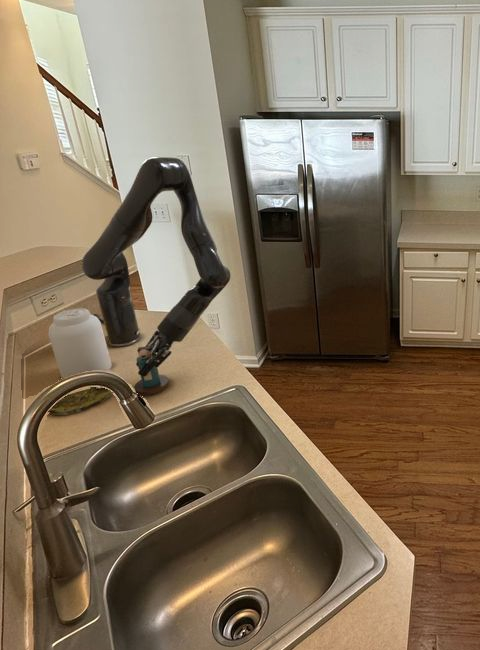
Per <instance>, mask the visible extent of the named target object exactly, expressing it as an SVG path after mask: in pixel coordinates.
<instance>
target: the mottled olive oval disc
mask: <svg viewBox="0 0 480 650" xmlns="http://www.w3.org/2000/svg"><path fill="white" fill-rule="evenodd" d="M113 394H114V391H113V392H111V391H110V390H108V389H105V388H102V386H100V387H91V386H90V387H89V388H85V389H82V390H78V391H76V392H71V393H68V395H67V394H66V395H67V396H65V397H64V398H62V397H61V398H62V399H61V398H60V399H61V400H59V399H58V400H59V401H58V402H57V403H56V404H55V405H54V406H53V407H52V408H51V409H50V410H49V411H48V412H47V413H51V414H53V415H55V416H66V415H67V416H68V415H73V414H77V413H79V412H83V411H85V410H87V409H91V408H92V407H95V406H96V405H99V404H102V403H104V402H105V401H106V400H108V399H109V398H110V397H111V396H112V395H113Z"/></svg>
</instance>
